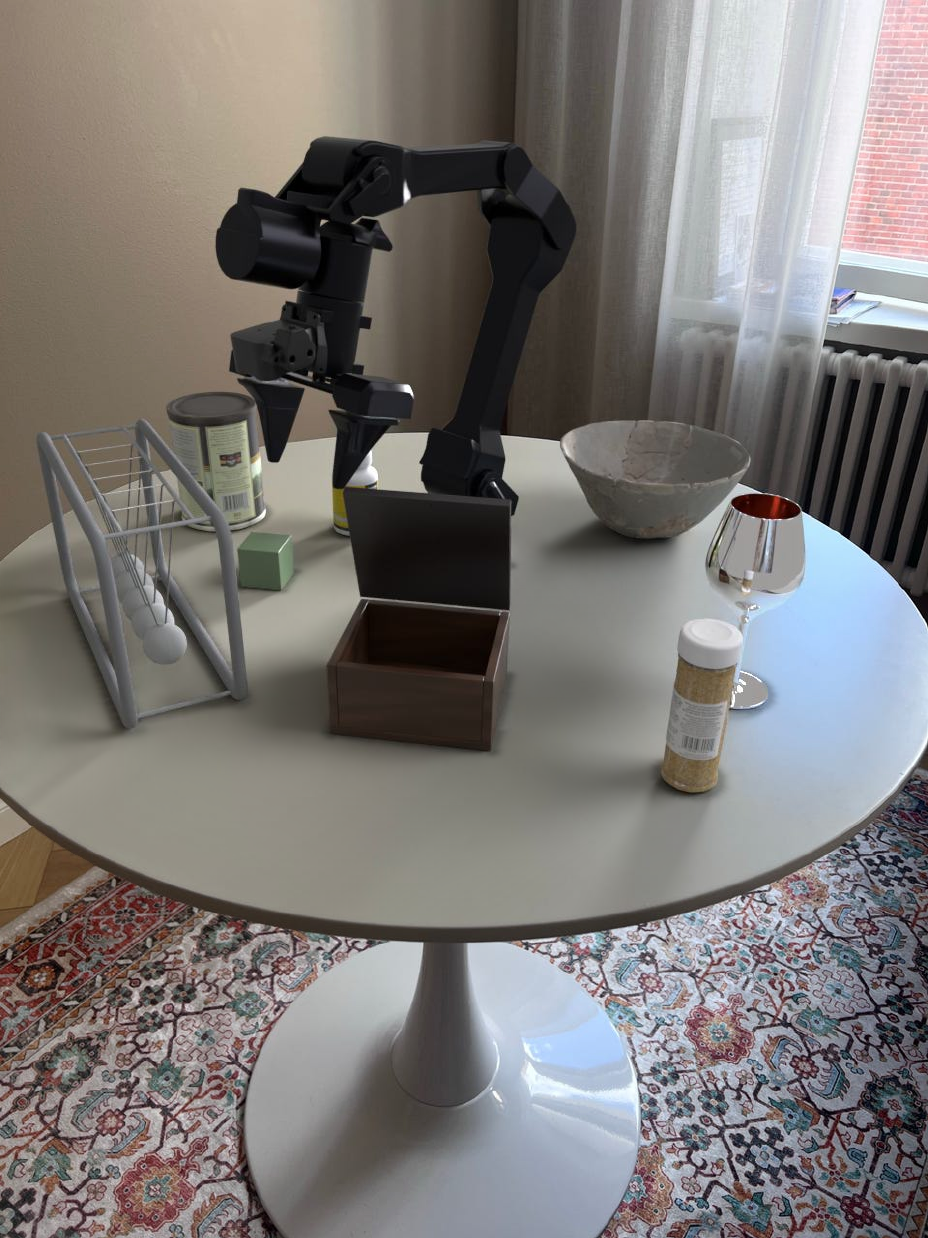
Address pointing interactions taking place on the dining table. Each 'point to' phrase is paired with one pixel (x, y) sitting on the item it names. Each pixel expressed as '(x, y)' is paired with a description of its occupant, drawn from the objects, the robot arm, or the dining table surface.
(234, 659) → the newton's cradle
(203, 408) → the coffee can
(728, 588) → the wineglass
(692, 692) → the sprinkles bottle
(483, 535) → the lid
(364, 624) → the walnut box
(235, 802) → the dining table surface
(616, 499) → the ceramic bowl
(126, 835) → the dining table surface
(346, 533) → the supplement bottle
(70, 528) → the dining table surface
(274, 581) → the block
